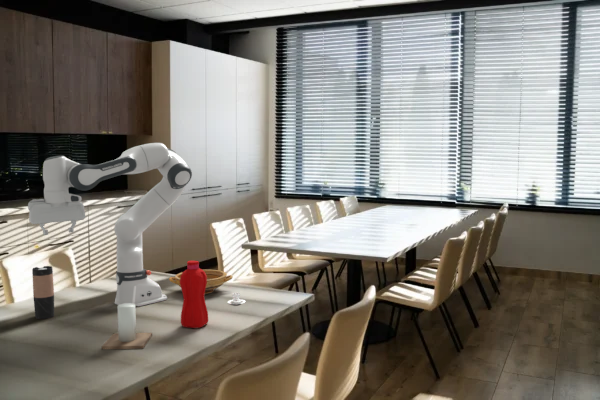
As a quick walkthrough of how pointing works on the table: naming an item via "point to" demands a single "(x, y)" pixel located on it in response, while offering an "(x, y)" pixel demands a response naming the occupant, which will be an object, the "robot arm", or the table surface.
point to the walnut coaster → (135, 344)
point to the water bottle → (193, 296)
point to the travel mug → (43, 292)
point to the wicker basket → (208, 279)
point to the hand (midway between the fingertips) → (58, 233)
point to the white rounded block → (126, 322)
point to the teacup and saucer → (236, 299)
